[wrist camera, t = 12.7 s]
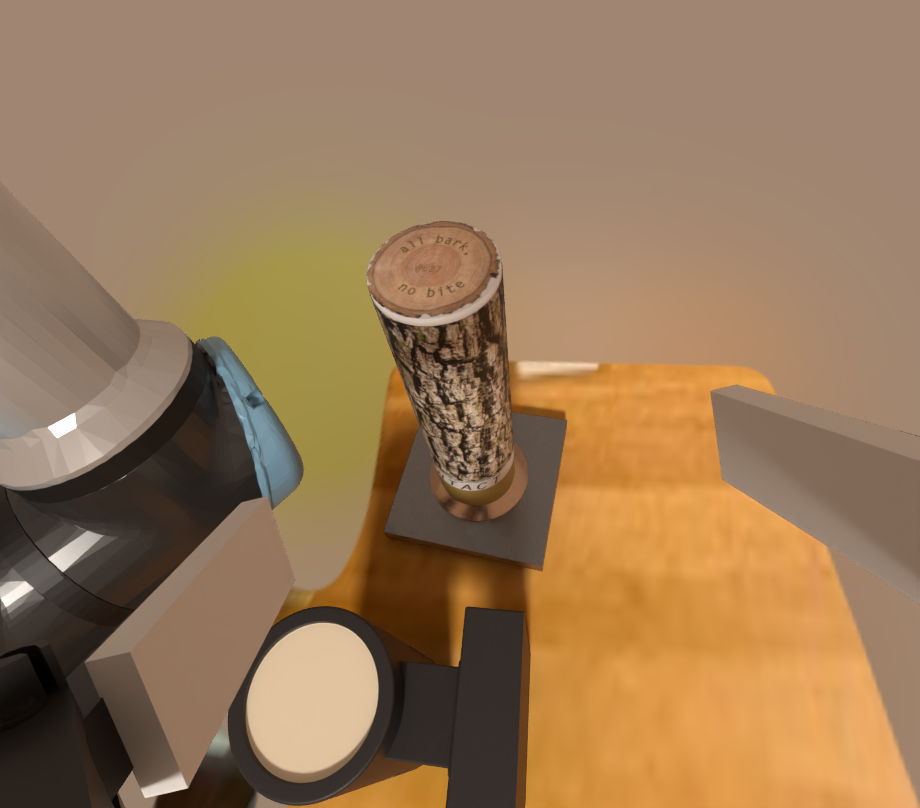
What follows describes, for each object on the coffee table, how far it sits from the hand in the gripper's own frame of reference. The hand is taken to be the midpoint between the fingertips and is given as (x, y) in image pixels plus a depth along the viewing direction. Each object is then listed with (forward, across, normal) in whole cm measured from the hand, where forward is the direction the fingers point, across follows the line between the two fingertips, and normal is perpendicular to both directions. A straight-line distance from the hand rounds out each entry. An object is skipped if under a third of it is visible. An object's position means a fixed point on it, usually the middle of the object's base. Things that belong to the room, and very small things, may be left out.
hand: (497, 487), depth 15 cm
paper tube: (+30, -1, -10) cm, 32 cm away
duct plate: (+31, -1, -12) cm, 33 cm away
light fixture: (+19, -8, -24) cm, 32 cm away
